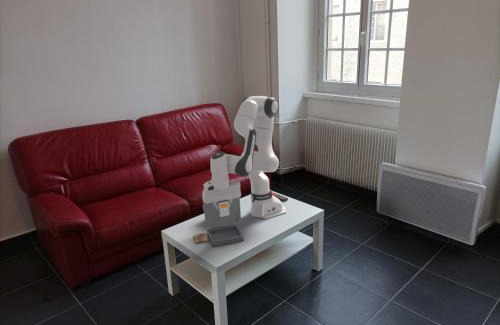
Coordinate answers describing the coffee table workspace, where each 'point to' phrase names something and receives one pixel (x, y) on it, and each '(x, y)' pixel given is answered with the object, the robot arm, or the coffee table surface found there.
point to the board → (201, 238)
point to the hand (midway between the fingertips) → (223, 207)
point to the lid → (217, 216)
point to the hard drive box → (237, 208)
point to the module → (223, 208)
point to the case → (225, 235)
